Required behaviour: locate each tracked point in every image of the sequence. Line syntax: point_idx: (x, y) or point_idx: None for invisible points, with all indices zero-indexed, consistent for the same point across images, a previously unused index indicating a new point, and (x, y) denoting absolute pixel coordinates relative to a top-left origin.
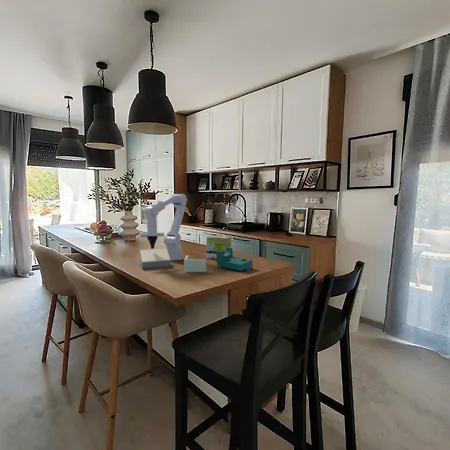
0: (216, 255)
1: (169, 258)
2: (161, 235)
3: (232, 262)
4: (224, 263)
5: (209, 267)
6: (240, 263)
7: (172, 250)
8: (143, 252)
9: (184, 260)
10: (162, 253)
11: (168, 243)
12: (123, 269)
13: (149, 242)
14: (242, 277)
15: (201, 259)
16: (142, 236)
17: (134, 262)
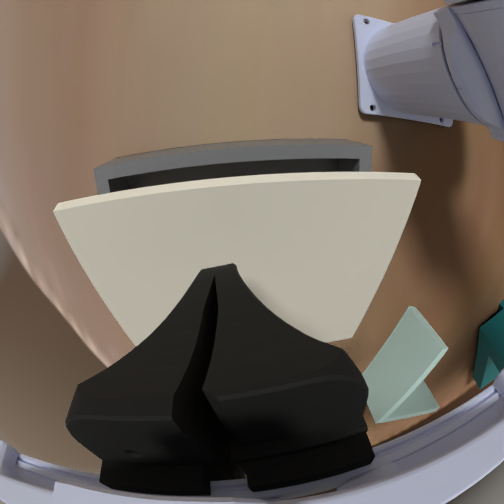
0: (499, 357)
1: (352, 330)
2: (471, 421)
3: (488, 372)
4: (484, 356)
5: (461, 325)
6: (488, 380)
7: (455, 117)
8: (111, 264)
9: (376, 420)
10: (332, 279)
11: (487, 63)
12: (50, 289)
13: (160, 330)
14: (441, 405)
15: (429, 410)
16: (37, 477)
17: (72, 90)
